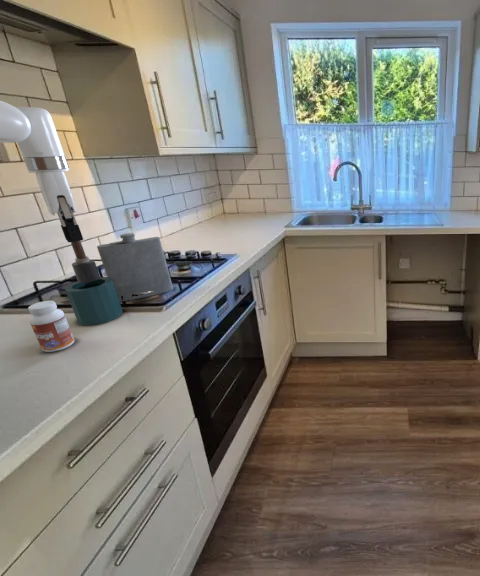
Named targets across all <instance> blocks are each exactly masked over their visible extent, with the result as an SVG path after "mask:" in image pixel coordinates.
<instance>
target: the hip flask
mask: <svg viewBox="0 0 480 576" xmlns="http://www.w3.org/2000/svg"><path fill="white" fill-rule="evenodd" d="M119 237H120V239H121V240H119V241H113V242H109V243H103V244H99V245H97V246H96V248H97V251H98V254H99V258H100V260H101V263H102V266H103V269H104V272H105V275H106V277H108V278H111V279H112V280H113V283H114V286H115V289H116V292H117V295H118V298H119V301H120V303H121V302H127V301H133V300H138V299H143V298H148V297H152V296H156V295H160V294H164V293H168V292H171V291H173V290H174V287H173V282H172V280H171V275H170V271H169V267H168V264H167V260H166V257H165V252H164V249H163V245H162V241H161V238H160V237H159V236H151V237H147V238H141V239H136V238H135V237H136V234H135V233H134V232H127V233H122V234H120V235H119ZM148 291H155V292H152V293H148V294H143V295H138V296H133V297H132V294H135V293H141V292H148ZM121 296H123V297H124V298H123V300H122V299H121Z"/></svg>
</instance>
